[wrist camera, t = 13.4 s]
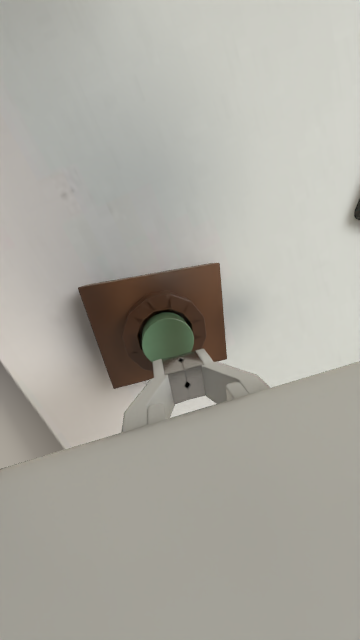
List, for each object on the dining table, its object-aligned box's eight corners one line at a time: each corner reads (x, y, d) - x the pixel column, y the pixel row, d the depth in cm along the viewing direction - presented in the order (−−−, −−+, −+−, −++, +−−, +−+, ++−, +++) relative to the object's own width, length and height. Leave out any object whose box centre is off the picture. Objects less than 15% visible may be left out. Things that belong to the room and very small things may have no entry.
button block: (116, 375, 19) (110, 403, 15) (86, 284, 15) (67, 290, 12) (218, 349, 20) (235, 368, 17) (210, 263, 17) (229, 261, 13)
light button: (147, 360, 15) (148, 372, 13) (136, 317, 13) (136, 324, 12) (191, 349, 15) (197, 359, 14) (185, 307, 14) (190, 312, 12)
